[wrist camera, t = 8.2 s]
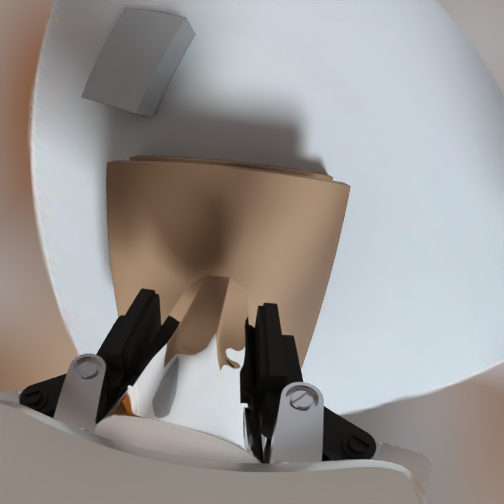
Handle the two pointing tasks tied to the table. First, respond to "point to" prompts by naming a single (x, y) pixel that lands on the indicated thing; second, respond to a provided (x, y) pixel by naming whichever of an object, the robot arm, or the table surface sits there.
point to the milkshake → (195, 381)
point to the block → (139, 60)
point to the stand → (225, 233)
